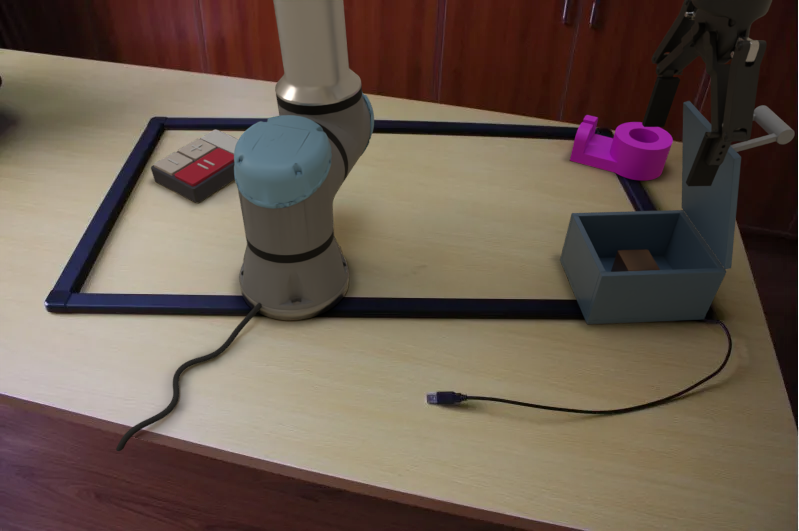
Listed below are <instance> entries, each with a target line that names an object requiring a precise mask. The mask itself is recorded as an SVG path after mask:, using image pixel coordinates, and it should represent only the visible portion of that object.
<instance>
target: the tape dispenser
mask: <svg viewBox="0 0 799 531" xmlns="http://www.w3.org/2000/svg"><path fill="white" fill-rule="evenodd" d="M582 120H583V121H582V122H580V124H579V126H578V127H577V130H576V133H575V137H574V140H573V145H572V149H571V153H570V158H569V161H570V162H574V163H578V164H582V165H585V166H589V167H593V168H596V169H600V170H604V171H608V172H610V173H611V172H612V173H615V174H616V175H618V176H620V177H623V178H626V179H629V180H632V181H633V180H634V181H641V182H642V181H645V182H646V181H652V180H656V179H657V178H659V177H660V176H661V175H662V174H663V171H664V168H665V165H666V162H667V159H668V156H669V154H670V151H671V148H672V146H673V143H674V139H673V137H672V135H671V134H670V133H669V132H668V131H667V130H665V129H664V128H663V127H644V126H643V125H642V122H643V121H642V122H641V121H630V122H629V121H628V122H624V123H621V124H619V125H618V126H617V127H616V128H615V131H614V135H613V137H609V136H605V135H601V134H598V133H596V129H597V126H598V121H599V117H598V116H595V115H590V114H586V115H584V117H583V119H582Z"/></svg>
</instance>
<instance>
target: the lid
mask: <svg viewBox="0 0 799 531" xmlns="http://www.w3.org/2000/svg"><path fill="white" fill-rule="evenodd" d="M682 104H683V105H682V152H681V154H682V157H681V158H682V159H681V166H682V167H681V210H683V211H684V212H685V214H686V215H687V216H688V218H689V219H690V221H691V222H692V223H693V225H694V226H695V228H696V229H697V231H698V232H699V233H700V235H701V236H702V238H703V239H704V240H705V242H706V243H707V245H708V246H709V247H710V249H711V250H712V252H713V253H714V255H715V256H716V257H717V259H718V260H719V262H720V263H721V264H722V266H723V267H724V269H725V270H729V269H732V265H733V264H732V263H733V253H734V240H735V232H736V231H735V230H736V219H737V210H738V197H739V187H740V186H739V185H740V176H741V175H740V174H741V164H742V156H741V155H740V154H739V152H741V151H745V150H749V149H752V148H756V147H761V146H764V145H768V144H771V143H774V142H776V143H777V144H779V145H786V144H788V143H790V142H791V141H792V140H793V139H794V137H795V130H794V129H792V128H791V126H790V125H788V124H787V123H786V122H784V120H783V119H781V117H779V116H778V115H777V114H776V113H775V112H774V111H773V110H772V109H771V108H769V106H767V105H765V104H764V105H763V104H762V105H759V106H757V107H756V108H754V115H753V121H754V122H756V123H757V125H759V127H761V128H762V129H763V130H764V132H766V133H767V135H763V136H759V137H756V138H752V139H749V140H748V141H740V142H738V143H734V144H731V145H730V147H729V149H728V152H727V154H726V156H725V159H724V161H723V163H722V164H721V165H720V166H719V168H718V171H717V173H716V175H715V178H714V180H713V182H712V185H711V186H688V185H687V184H686V180H687V178H688V175H689V173H690V170H691V168H692V165H693V163H694V160H695V157H696V155H697V152H698V150H699V147H700V145H701V142H702V140H703V137H704V135H705V132H711V122H710V121H709V120H708V119H707V118H706V117H705V116H704V115H703V114H702V113H701V112H700V110H698V108H697V107H696V106H695V105H694V104H693V103H692V102H691V100H687V101H684V102H683V103H682ZM722 127H723V124H722Z"/></svg>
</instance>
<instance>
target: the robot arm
mask: <svg viewBox="0 0 799 531" xmlns="http://www.w3.org/2000/svg"><path fill="white" fill-rule="evenodd" d="M272 1H273V8H274V9H273V10H274V15H275V21H276V28H277V34H278V40H279V47H280V53H281V54H280V55H281V61H282V68H283V75H282V76H281V77H280V78H279V80H277V82H276V84H275V85H274V86H275V87H274V91H275V98H276V104H277V109H278V115H276V116H272V117H268V118H267V121H262V120H260V121H257V122H255V123H254V124H252V125H251V126H249V127H248V128H247V129H246V130H245V131H243V133H241V135H240V137H239V138H238V139H239V140H238V141H237V143H236V146H235V151H234V163H235V165H234V176H235V179H234V182H235V185H236V187H237V188H236V189H237V192H238V199H239V203H240V211H241V216H242V222H243V227H244V233H245V240H246V247H245V251H244V254H243V260H242V264H241V267H240V271H239V276H238V280H239V286H240V292H241V297H242V299H243V300H244V301H245V303H246V305H247V306H248V307H250V309H251V310H250V311H249V313H247V314H246V315H245V317H244V318H243V319H242V320H241V321H240V322H239V324H238V325H237V326H236V327H235V328H234V330H233V331H232V332H231V333H230V335H229V337H228V338H227V339H226V340H225V342H224V343H223V344H222V345H220V347H218V348H217V349H215V350H214V351H213V352H210V353H208V354H205V355H201V356H198V357H194V358H192V359H189V360H188V361H187V360H186V362H184V363H182V364H181V365H179V367H178V368H177V369H176V370H175V372H174V374H173V377H172V399H171V401H170V402H169V403H168V405H167V406H166V407H165V408H164V409H162V410H161V411H160V412H158V413H157V414H155V415H153V416H151V417H149V418H147V419H144V420H142V421H141V422H138V423H137V424H135V425H133V426H132V427H131V428H130V429H128V430H127V431H126V433H124V435H123V436H122V437H121V439H120V440H119V442H118V444H117V446H116V448H115V449H116V452H120V451H121V452H122V451H123V450H124V448H125V446H126V445H127V443H128V441H130V439H131V438H132V437H133V436H134V435H135V434H136V433H137V432H139V431H141V430H143V429H145V428H147V427H148V426H151V425H152V424H155V423H157V422H159V421H161V420H162V419H164V418H165V417H167V416H168V415H169V414H171V413H172V412H173V410H174V409H175V408H176V406H177V405H178V402H179V400H180V378H181V375H182V374H183V373H184V372H185V371H186V370H187V369H189V368H190V367H192V366H194V365H195V366H196V365H197V364H201V363H205V362H208V361H211V360H213V359H215V358H217V357H219V356H220V355H222V354H223V353H224V352H225V351H227V349H228V348H229V347H230V346H231V344H233V342H234V341H235V339H236V338H237V337H238V335H239V334H240V333H241V331H242V330H243V329H244V328H245V327H246V325H247V324H248V323H249V322H250V321H251V320H252V319H253V318H254V317H255V316H256V314H257V313H258V314H260V315H262V316H264V317H267V318H270V319H275V320H281V321H301V320H306V319H311V318H313V317H317V316H319V315H322V314H325V313H327V312H328V311H330V310H332V309H333V308H334V307H336V305H338V304H339V303H340V302H341V301H342V299H343V298H344V297H345V296H346V294H347V292H348V289H349V285H350V270H349V265H348V262H347V259H346V258H345V255H343V252H342V246H340V245H339V243H338V241H337V239H336V237H335V230H334V226H335V224H334V200H335V197H336V195H337V194H338V192H339V191H340V188H342V185H343V183H344V182H345V181H346V179H347V177H348V176H349V174H350V173H351V171H352V170H353V168H354V167H355V165H356V164H357V162H358V160H359V159H360V158H361V157H362V156H363V154H364V153H365V152H366V150H367V148H368V147H369V144H370V140H371V139H372V135H373V132H374V127H375V113H374V109H373V105H372V103H371V101H370V98H369V97H368V95H367V94H365V93H364V92H363V87H362V86H363V85H362V78H360V76H359V75H358V74H357V73H356V72H354V70H352V69H351V68H350V63H349V52H348V44H347V43H348V42H347V41H348V40H347V31H346V30H347V28H346V17H345V6H344V0H272ZM772 2H773V0H683V2H682V5H681V8H680V11H679V13H678V15H677V17H676V18H675V20H674V21H673V23H672V24H671V26H670V28H669V29H668V30H667V32H666V34H665V35H664V37H663V38H662V40H661V42H660V43H659V45H658V47H657V48H656V50H655V51H654V53H653V54H652V55H651V63H652V64H654V65H656V66H655V67H656V68H655V74H656V75H657V76H656V79H655V82H654V85H653V88H652V90H651V95H650V97H649V101H648V104H647V107H646V110H645V113H644V117H643V119H642V125H643V126H644V127H660V128H665V125H666V122H667V120H668V116H669V114H670V111H671V109H672V106H673V102H674V99H675V97H676V93H677V91H678V88H679V85H680V82H681V79H680V78H679V76H683V75H684V73H683V72H684V71H683V70H684V69H685V68H687V67H688V66H689V65H690V64H691V63H692V62H693V61H694V60H696V59H697V58H698V57H701V59H702V62H703V63H704V64H705V72H706V74H707V75H709V77H710V124H711V132H705V135H704V137H703V140H702V142H701V145H700V147H699V150H698V152H697V155H696V157H695V160H694V163H693V165H692V168H691V170H690V173H689V175H688V178H687V180H686V184H687V185H688V186H711V185H712V182H713V180H714V178H715V175H716V173H717V171H718V168H719V166H720V165H721V164H722V163H723V161H724V159H725V156H726V154H727V152H728V149H729V147H730V145H732V143H733V142H745V141H748V140H751V137H752V128H753V115H754V110H755V109H756V108H755V107H756V99H757V92H758V84H759V77H760V70H761V64H762V62H763V59H764V56H765V53H766V51H767V46H768V44H767V41H766V40H764V39H763V40H762V39H761V40H759V39H758V40H757V39H752V38H750V32H751V27H752V24H753V23H754V22H755V21H757V20H759V19H760V18H762V17H765V16H766V14H767V13H768V12H769V10H770V7H771V5H772ZM728 62H730V63H728ZM722 124H723V127H722Z"/></svg>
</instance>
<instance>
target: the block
mask: <svg viewBox="0 0 799 531" xmlns="http://www.w3.org/2000/svg"><path fill="white" fill-rule="evenodd" d="M650 270H660V269H659V267H658V265H657V264H656V262H655V260H654V259H653V257H652V255H651V254H650V252H649V250H648V249H645V250H618V251H617V254H616V257H615V260H614V263H613V266H612V270H611V272H622V271H650Z"/></svg>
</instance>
